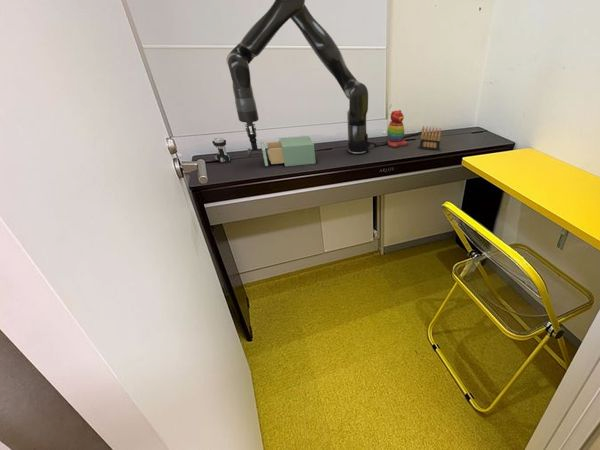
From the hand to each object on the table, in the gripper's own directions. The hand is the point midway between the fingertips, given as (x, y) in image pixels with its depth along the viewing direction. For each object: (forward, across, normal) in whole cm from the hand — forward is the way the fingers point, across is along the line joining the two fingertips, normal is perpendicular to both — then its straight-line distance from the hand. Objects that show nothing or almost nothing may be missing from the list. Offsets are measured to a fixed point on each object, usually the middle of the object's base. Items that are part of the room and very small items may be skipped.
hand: (255, 149), depth 136 cm
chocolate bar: (+5, 0, -8) cm, 9 cm away
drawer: (+6, 0, -6) cm, 8 cm away
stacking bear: (+7, +10, -72) cm, 73 cm away
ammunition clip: (+7, -2, -87) cm, 87 cm away
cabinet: (+7, 0, -18) cm, 19 cm away
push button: (+7, +8, +14) cm, 18 cm away
